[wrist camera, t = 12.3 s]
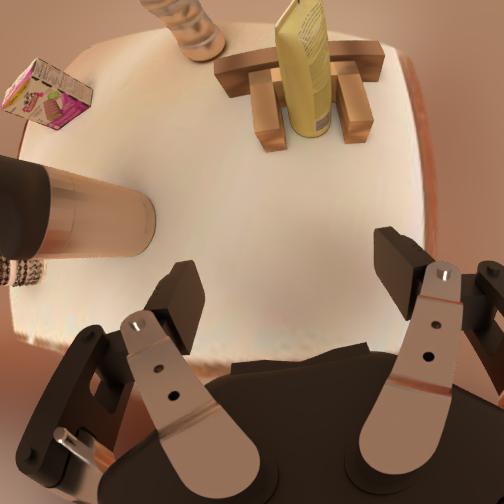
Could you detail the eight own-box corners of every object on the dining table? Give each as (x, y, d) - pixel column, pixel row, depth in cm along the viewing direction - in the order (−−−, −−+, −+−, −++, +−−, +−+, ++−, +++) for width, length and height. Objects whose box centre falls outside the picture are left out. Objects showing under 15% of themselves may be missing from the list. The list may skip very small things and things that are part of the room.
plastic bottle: (223, 64, 32) (158, -31, 13) (183, 67, 34) (109, -11, 14) (233, 36, 32) (181, -55, 12) (195, 39, 33) (134, -38, 14)
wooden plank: (229, 98, 32) (214, 74, 26) (229, 84, 32) (213, 60, 26) (377, 81, 27) (385, 55, 21) (372, 68, 27) (378, 40, 21)
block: (266, 152, 31) (254, 132, 25) (259, 98, 31) (248, 72, 25) (365, 142, 28) (373, 120, 22) (351, 88, 28) (354, 61, 22)
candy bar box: (57, 132, 41) (-1, 111, 25) (60, 114, 41) (5, 90, 26) (91, 107, 39) (29, 75, 23) (94, 88, 39) (37, 55, 23)
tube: (282, 106, 30) (244, -14, 11) (319, 95, 29) (314, -28, 10) (298, 144, 30) (274, 27, 11) (337, 132, 29) (355, 12, 10)
